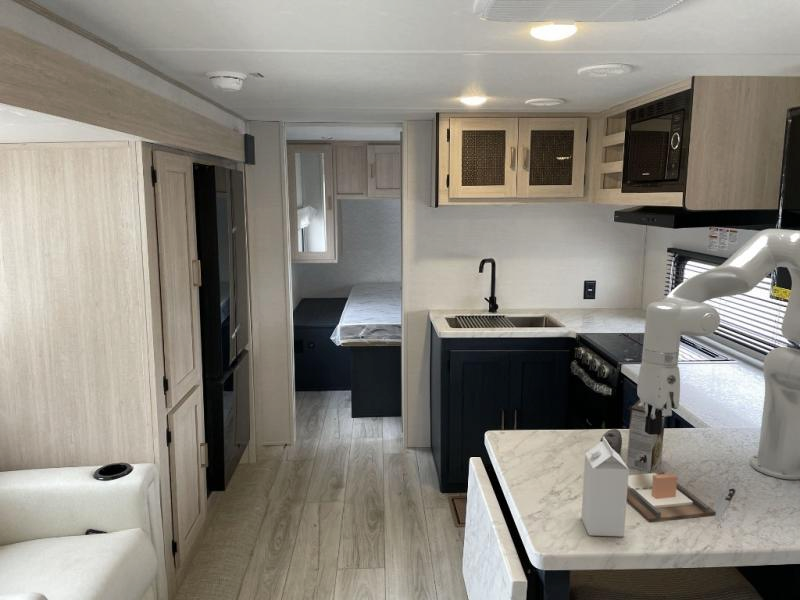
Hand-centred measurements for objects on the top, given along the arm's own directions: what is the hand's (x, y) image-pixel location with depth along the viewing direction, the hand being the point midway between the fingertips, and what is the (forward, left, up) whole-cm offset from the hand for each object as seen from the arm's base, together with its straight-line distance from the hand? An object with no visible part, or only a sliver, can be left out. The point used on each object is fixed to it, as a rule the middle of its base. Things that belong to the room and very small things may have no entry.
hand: (652, 432), depth 141 cm
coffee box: (-7, -14, -15) cm, 21 cm away
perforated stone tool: (-1, -20, -15) cm, 25 cm away
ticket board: (0, +3, -15) cm, 15 cm away
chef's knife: (-12, +9, -15) cm, 21 cm away
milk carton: (+19, +12, -15) cm, 27 cm away
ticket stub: (0, +5, -14) cm, 15 cm away
